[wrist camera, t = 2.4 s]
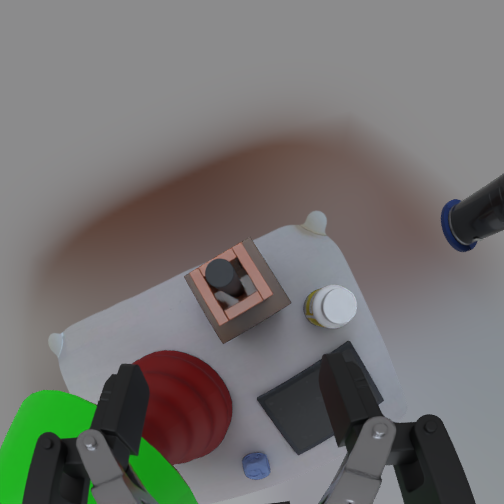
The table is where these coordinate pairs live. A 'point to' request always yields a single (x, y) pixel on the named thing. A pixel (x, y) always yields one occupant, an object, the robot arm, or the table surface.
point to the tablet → (307, 404)
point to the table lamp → (154, 430)
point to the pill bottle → (330, 306)
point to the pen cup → (224, 304)
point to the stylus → (224, 277)
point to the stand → (256, 313)
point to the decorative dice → (256, 466)
